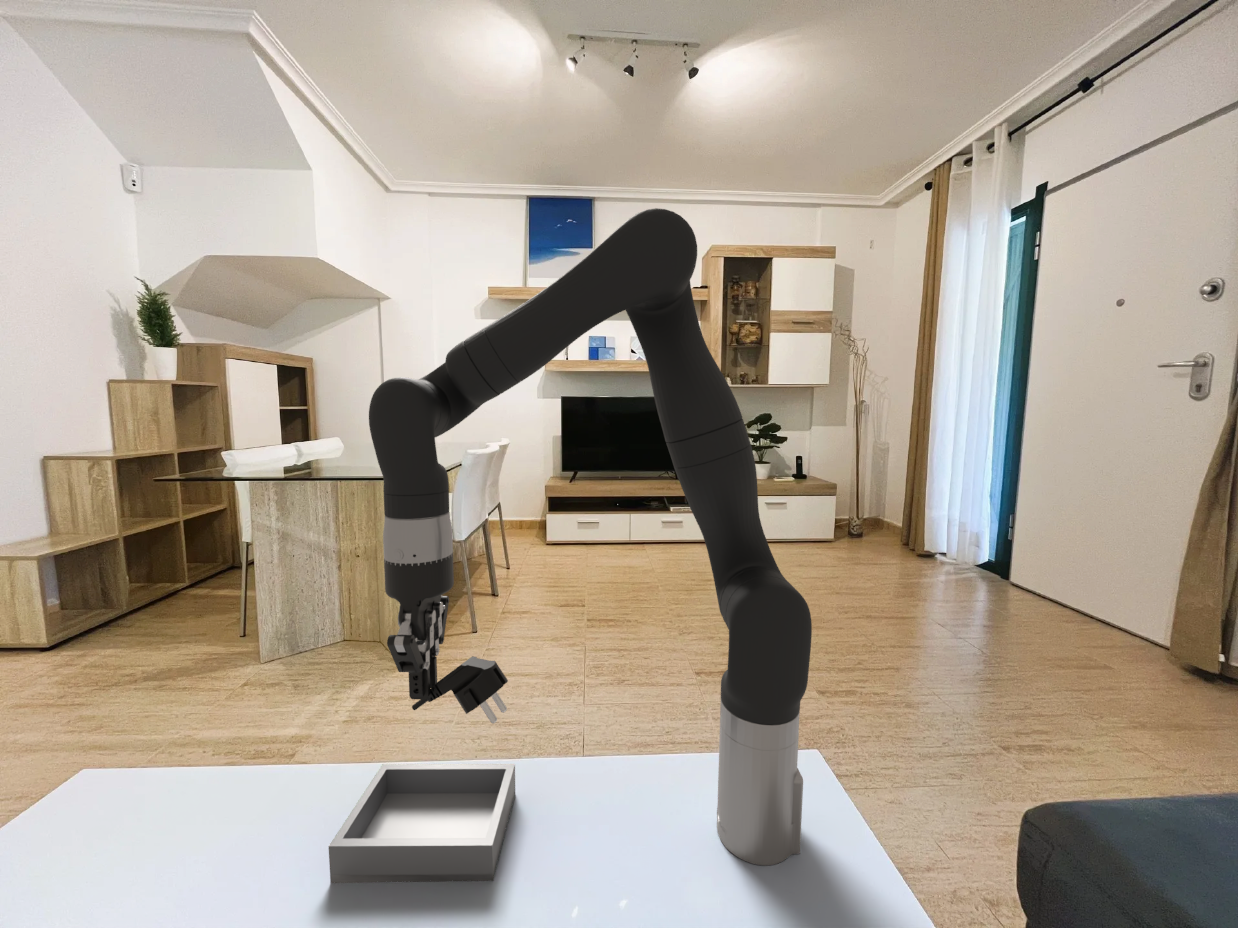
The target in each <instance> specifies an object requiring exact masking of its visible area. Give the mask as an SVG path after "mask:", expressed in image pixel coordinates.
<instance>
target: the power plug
mask: <svg viewBox="0 0 1238 928" xmlns="http://www.w3.org/2000/svg"><path fill="white" fill-rule="evenodd" d="M508 682H509V680H508V678H507V677H506V675H505V674H504V672H503V670H502V669H501V667H500V666H499V665H498V663H497V662H496V661H495V660H488V659H484V658H480V657H477V656H471V657H469V658H468V659H466V661H464V662H463V663H461V664H460V665H459V666H458V667H455V668H454V669H453V670H452V671H450V672H449V673H448V674H446V675H444V677H441V679H440V680H437V683H436V684H435V685H434V686H433V687H432V688H430V695H429V696H428V698H427V699H418V701H417V702H415V703H414V704H412V706H411V708H412V710H413V711H416V710H417V709H419V708H420V707H422V706H423V705H424V704H426V703H427V702H429V703H431V702H432V701H434V700H437V699H438V698H440V697H442V696H444V695H446V694H447V693H449V692H450V691H452V693H453V695H454V697H455V698H456V700H457V701H458V703H459V704H460V706H461V708H462V710H463V711H464V713H465V714H466V715H467V714H469V713H470V712H472V711H474V710H475V709H476V708H478V707H479V706H480V707H481V709H482V711H483V713H485V715H486V717H487V719H488V720H489V721H490V723H491V724H496V723H497V721H498V717H497V716H496V714H495V713H494V711H493V709H492V708H491V707H490V705H489V704H488V702H487V701H488V700H489V699H490V698H492V700H493V701H494V702H495V704H496V706H497V707H498V709H499V711H500V712H501V713H503V714H504V713H506V711H507V710H508V708H507V706H506V704H505V703H504V702H503V699H502V698H501V696H500V695H499V693H498V691H500V689H502V688H503V687H504V685H505V684H507V683H508Z"/></svg>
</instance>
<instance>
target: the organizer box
mask: <svg viewBox="0 0 1238 928" xmlns="http://www.w3.org/2000/svg"><path fill="white" fill-rule="evenodd" d="M515 798H516V764H515V763H386V764H385V763H382V764H381V766H380V767H379V768H378V770H377V772H376V773H375V774H374V776H373V777H372V779H371V781H370V782H369V783H368V785H367V787H366V788H365V790H364V791H363V793H362V795H361V796H360V797H359V799H358V801H357V802H356V803H355V805H354V807H353V808H352V809H351V811H350V813H349V814H348V815H347V818H346V819H345V820H344V822H343V823H342V825H341V826H340V828H339V829H338V831H337V832H336V834H335V835H334V837H333V838H332V840H331V841H330V843H329V845H328V860H329V861H328V862H329V876H330V877H329V879H330V884H371V883H373V884H374V883H375V884H377V883H378V884H380V883H381V884H382V883H387V884H388V883H389V884H390V883H443V882H444V883H445V882H446V883H447V882H448V883H450V882H453V883H454V882H455V883H456V882H493V881H494V879H495V875H496V872H497V871H496V870H497V867H498V863H499V860H500V856H501V852H502V848H503V845H504V840H505V837H506V833H507V829H508V825H509V821H510V818H511V813H512V809H513V805H514V802H515Z"/></svg>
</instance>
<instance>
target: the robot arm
mask: <svg viewBox="0 0 1238 928" xmlns="http://www.w3.org/2000/svg"><path fill="white" fill-rule="evenodd" d="M697 260H698V242H697V238H696V234H695V232H694V230H693V228H692V227H691V225H690V224H689V222H688V221H687V220H686V219H684V217H682V216H681V215H679V214H678V213H677V212H674V211H672V210H670V209H666V208H656V207H655V208H649V209H648V208H647V209H646V210H645V209H644V210H641V211H640V212H637V213H635V214H633V215H632V216H631V217H629V218H628V219H627V220H625V221H624V223H622V224H621V225H620V226H618V227H617V228H616V230H614V231H613V232H612V233H611V234H610V235H608V237H606V239H605V240H603V241H602V242H601V243H600V244H599V245H598V246H596V247H595V248H594V249H593V250H592V251H591V252H590V253H589V254H587V255H586V256H585V257H584V258H582V259H581V260H580V261H579V262H578V263H576V265H574V266H573V267H572V268H571V269H569V270H568V271H567V272H565V273H564V274H563V275H562V276H560V277H559V278H557V279H556V280H555V281H553V282H552V283H551V284H549V285H548V286H547V287H546V288H544V289H542V290H541V291H539V292H538V293H537V294H535V295H533V296H532V297H531V298H529V299H528V300H526V301H525V302H523V303H522V304H520V305H519V306H517V307H516V308H514V309H512V310H510V311H509V312H507V313H506V314H504V315H502V316H501V317H499V318H498V319H496V320H494V321H493V322H491V323H490V324H488V325H486V326H484V327H483V328H481V329H480V330H478V331H477V332H475V333H473V334H472V335H471V336H468V337H467V338H466V339H464V340H463V341H461V342H459V343H458V344H456V345H455V346H454V347H452V349H451V350H449V351H448V352H447V354H446V356H445V362H444V363H442V364H441V365H439V366H438V367H436V368H435V369H434V370H432V371H431V372H429V373H428V374H426V375H424V376H423V377H420V378H411V377H402V376H400V377H392V378H389V379H387V380H384V382H382V383H381V384H380V385H379V386H378V387H377V388H376V389H375V391H374V392H373V394H372V397H371V400H370V402H369V408H368V425H369V431H370V436H371V441H372V443H373V444H372V445H373V448H374V452H375V456H376V459H377V464H378V466H379V469H380V472H381V474H382V477H383V505H384V506H383V510H384V511H383V513H384V522H383V531H382V540H383V541H382V545H383V546H382V548H383V569H384V572H383V573H384V590H385V591H384V592H385V594H386V595H387V596H388V597H389V598H391V599H393V600H396V601H397V602H398V603H399V610H398V614H397V625H398V627H399V629H398V631H397V633H396V634H389V635H388V637H387V639H386V641H387V642H386V646H387V648H388V650H389V653H390V655H391V657H392V659H393V662H394V664H395V666H396V669H397V671H398V673H408V687H409V688H408V692H409V693H408V694H409V695H408V696H409V699H411V700H421V699H427V698H428V696H429V695H430V689H431V688H432V687H433V686H434V685H435V684H436V683H437V682H438V662H437V661H438V659H437V657H438V656H439V653H440V650H441V649H440V645H443V644H444V641H445V633H446V625H447V618H448V611H449V603H450V597H449V596H448V595H444V594H446V593H448V592H450V590H452V588H453V587H454V579H455V578H454V577H455V576H454V550H453V549H454V546H453V543H454V542H453V525H452V522H451V521H452V520H451V516H450V515H451V514H450V491H449V490H450V486H449V485H450V484H449V475H448V471H447V469H446V467H445V466H443V465H442V464H441V463H439V461H438V455H437V447H436V438H437V437H439V436H443V435H444V434H445V433H448V432H449V431H450V430H451V429H453V428H454V427H456V426H457V425H459V424H460V423H461V422H463V421H464V420H465V419H467V418H468V417H469V416H471V415H472V414H473V413H474V412H476V411H477V410H478V409H479V408H480V407H481V406H482V405H484V404H485V403H487V402H488V401H490V400H491V401H492V399H495V398H497V397H498V396H500V395H501V394H504V393H505V392H506V391H508V390H510V389H511V388H513V387H515V386H516V385H518V384H519V383H522V382H523V381H524V380H526V379H528V378H529V377H530V376H532V375H533V374H535V373H536V372H537V371H538V372H539V370H541V369H542V368H544V367H545V366H546V365H547V364H548V363H549V362H551V361H552V360H553V359H554V358H556V357H557V356H558V355H559V354H560V353H562V352H563V351H564V350H566V349H567V348H568V347H569V346H571V344H573V342H575V341H577V340H578V339H579V338H580V337H582V336H583V335H585V334H586V333H587V332H589V331H591V329H593V328H595V327H597V326H598V325H599V324H601V323H603V322H605V321H606V320H607V319H608V320H609V319H610V318H611V317H613V316H615V315H617V314H619V313H621V312H624V311H625V312H626V314H627V316H628V319H629V321H630V323H631V325H632V328H633V330H634V332H635V335H636V338H637V339H638V341H639V342H638V343H639V344H640V347H641V350H642V353H643V355H644V357H645V361H646V365H647V369H648V373H649V378H650V383H651V389H652V393H653V397H654V403H655V406H656V410H657V415H658V418H659V422H660V426H661V429H662V433H663V437H664V441H665V443H666V446H667V449H668V452H669V455H670V458H671V462H672V465H673V468H674V472H675V474H676V476H677V479H678V481H679V484H680V487H681V489H682V493H683V495H684V497H685V499H686V501H687V504H688V506H689V508H690V511H691V513H692V515H693V516H694V519H695V521H696V523H697V525H698V528H699V529H700V532H701V534H702V537H703V540H704V543H705V547H706V550H707V555H708V558H709V559H708V560H709V563H710V567H711V572H712V576H713V577H712V578H713V582H714V587H715V592H716V598H717V602H718V608H719V613H720V615H721V618H722V619H723V621H724V623H725V626H726V627H727V629H728V656H727V669H726V670H725V671H724V672H723V674H722V676H721V681H720V705H719V706H720V707H719V709H720V710H719V711H720V712H719V715H720V716H719V743H718V744H719V745H718V775H717V776H718V779H717V806H716V807H717V808H716V830H717V834H718V837H719V839H720V841H721V842H722V844H723V846H724V848H726V849H727V850H728V851H729V852H730V853H732V854H733V855H734V856H736V858H739V859H741V861H744V862H747V863H750V864H752V865H757V866H758V865H759V866H772V865H778V864H780V863H782V862H784V861H785V860H786V859H787V858H789V857H790V856H791V855H797V854H798V855H800V853H801V840H802V839H801V838H802V837H801V836H802V818H803V817H802V816H803V798H804V797H803V795H804V794H803V793H804V791H803V790H804V779H803V775H802V774H801V771H800V770H799V768H798V760H799V759H798V757H799V755H798V754H799V737H800V736H799V735H800V733H799V732H800V731H799V730H800V713H801V712H800V711H801V701H802V699H803V697H804V695H805V693H806V691H807V688H808V681H809V672H810V671H809V669H810V663H811V662H810V660H811V650H812V649H811V648H812V635H813V634H812V633H813V631H812V630H813V629H812V628H813V627H812V626H813V625H812V616H811V615H812V614H811V610H810V607H809V605H808V603H807V602H806V599H805V598H804V596H803V595H802V594H801V593H800V592H799V591H798V590H797V588H795V587H794V586H793V585H792V584H791V583H790V582H789V581H788V580H787V579H786V578H785V577H784V575H783V573H782V572H781V570H780V568H779V567H778V564H777V562H776V560H775V558H774V555H773V553H772V550H771V548H770V546H769V542H768V540H767V538H766V534H765V532H764V529H763V526H762V520H761V518H760V512H759V511H760V510H759V496H758V495H759V494H758V492H759V491H758V477H757V474H758V473H757V467H756V460H755V455H754V453H753V452H754V451H753V447H752V444H751V441H750V438H749V435H748V434H749V433H748V432H747V428H746V425H745V421H744V418H743V414H742V412H741V409H740V407H739V404H738V401H737V400H736V397H735V395H734V393H733V391H732V389H731V387H730V385H729V383H728V381H727V380H726V378H725V376H724V375H723V372H722V371H721V369H720V367H719V365H718V364H717V362H716V361H715V358H714V356H713V355H712V354H711V352H710V349H709V348H708V345H707V343H706V341H705V339H704V336H703V331H702V330H701V326H700V323H699V317H698V314H697V310H696V306H695V302H694V297H693V292H692V291H693V290H692V285H691V279H692V277H693V275H694V272H695V269H696V265H697Z"/></svg>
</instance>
